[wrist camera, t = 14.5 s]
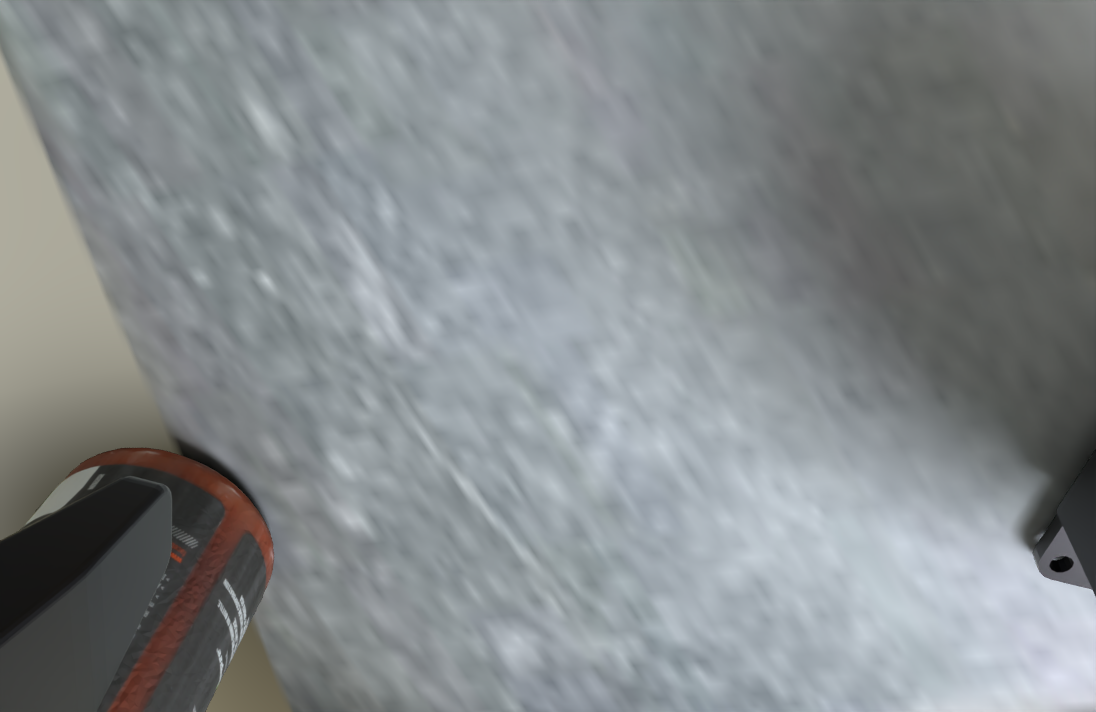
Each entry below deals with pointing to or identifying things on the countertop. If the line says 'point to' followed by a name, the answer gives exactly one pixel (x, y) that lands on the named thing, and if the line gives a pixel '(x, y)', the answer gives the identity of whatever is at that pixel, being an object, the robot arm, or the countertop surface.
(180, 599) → the supplement bottle
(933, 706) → the countertop surface
